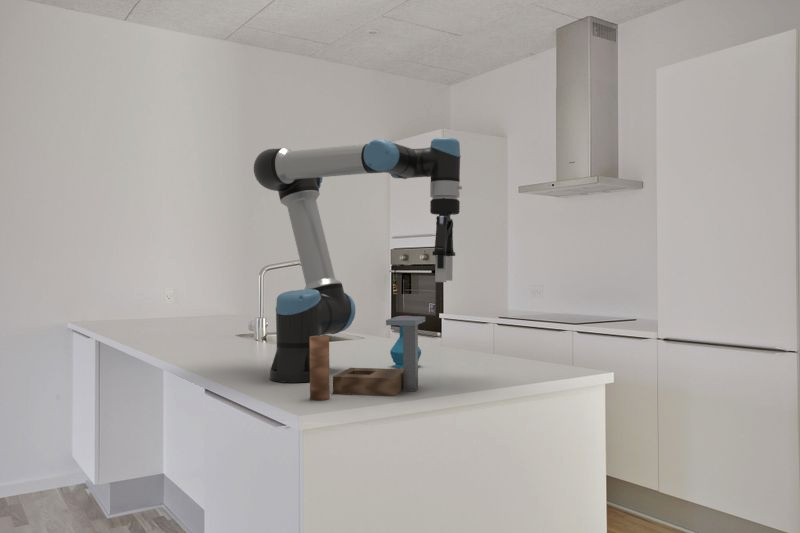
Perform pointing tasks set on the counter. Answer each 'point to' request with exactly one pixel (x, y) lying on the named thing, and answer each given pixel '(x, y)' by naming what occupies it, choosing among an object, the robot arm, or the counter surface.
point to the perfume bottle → (400, 351)
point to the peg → (319, 368)
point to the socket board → (369, 381)
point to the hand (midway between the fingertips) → (444, 281)
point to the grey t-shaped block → (409, 349)
